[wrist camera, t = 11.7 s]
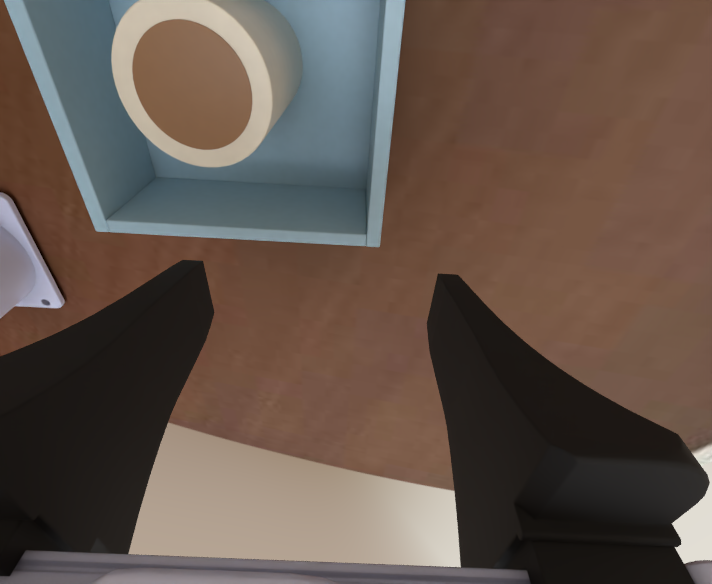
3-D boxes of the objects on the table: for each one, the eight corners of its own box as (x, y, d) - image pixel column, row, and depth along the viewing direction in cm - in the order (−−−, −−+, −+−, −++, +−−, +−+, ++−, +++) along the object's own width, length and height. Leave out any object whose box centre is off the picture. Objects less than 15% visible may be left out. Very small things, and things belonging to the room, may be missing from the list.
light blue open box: (151, 183, 21) (95, 231, 16) (58, -154, 13) (-89, -228, 9) (376, 196, 21) (379, 247, 17) (405, -128, 14) (425, -189, 9)
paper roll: (206, 113, 18) (136, 164, 13) (186, -10, 15) (84, -16, 10) (304, 119, 18) (277, 172, 13) (301, -2, 15) (265, -4, 10)
